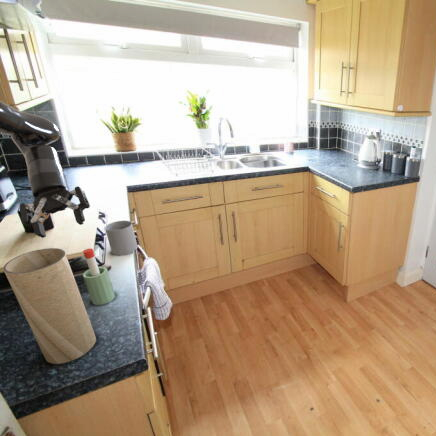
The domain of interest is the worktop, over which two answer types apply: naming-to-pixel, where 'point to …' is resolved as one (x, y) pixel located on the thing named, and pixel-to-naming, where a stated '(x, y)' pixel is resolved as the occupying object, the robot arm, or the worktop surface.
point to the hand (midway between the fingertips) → (61, 229)
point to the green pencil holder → (99, 286)
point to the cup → (121, 237)
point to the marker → (91, 262)
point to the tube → (51, 304)
